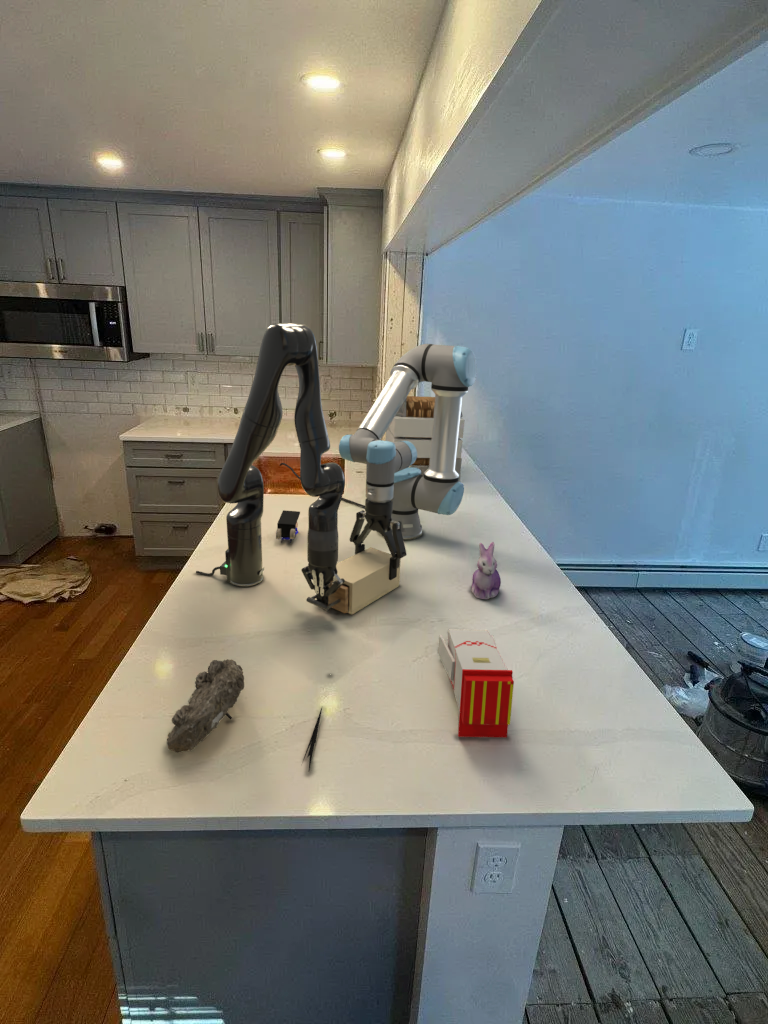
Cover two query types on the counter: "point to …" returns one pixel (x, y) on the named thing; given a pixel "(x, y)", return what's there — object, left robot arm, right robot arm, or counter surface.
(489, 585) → the figurine
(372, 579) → the cabinet
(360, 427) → the right robot arm
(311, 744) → the feather
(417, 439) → the white slatted crate
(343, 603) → the drawer
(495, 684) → the toy
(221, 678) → the fossil
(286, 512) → the black wheeled vehicle
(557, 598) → the counter surface
